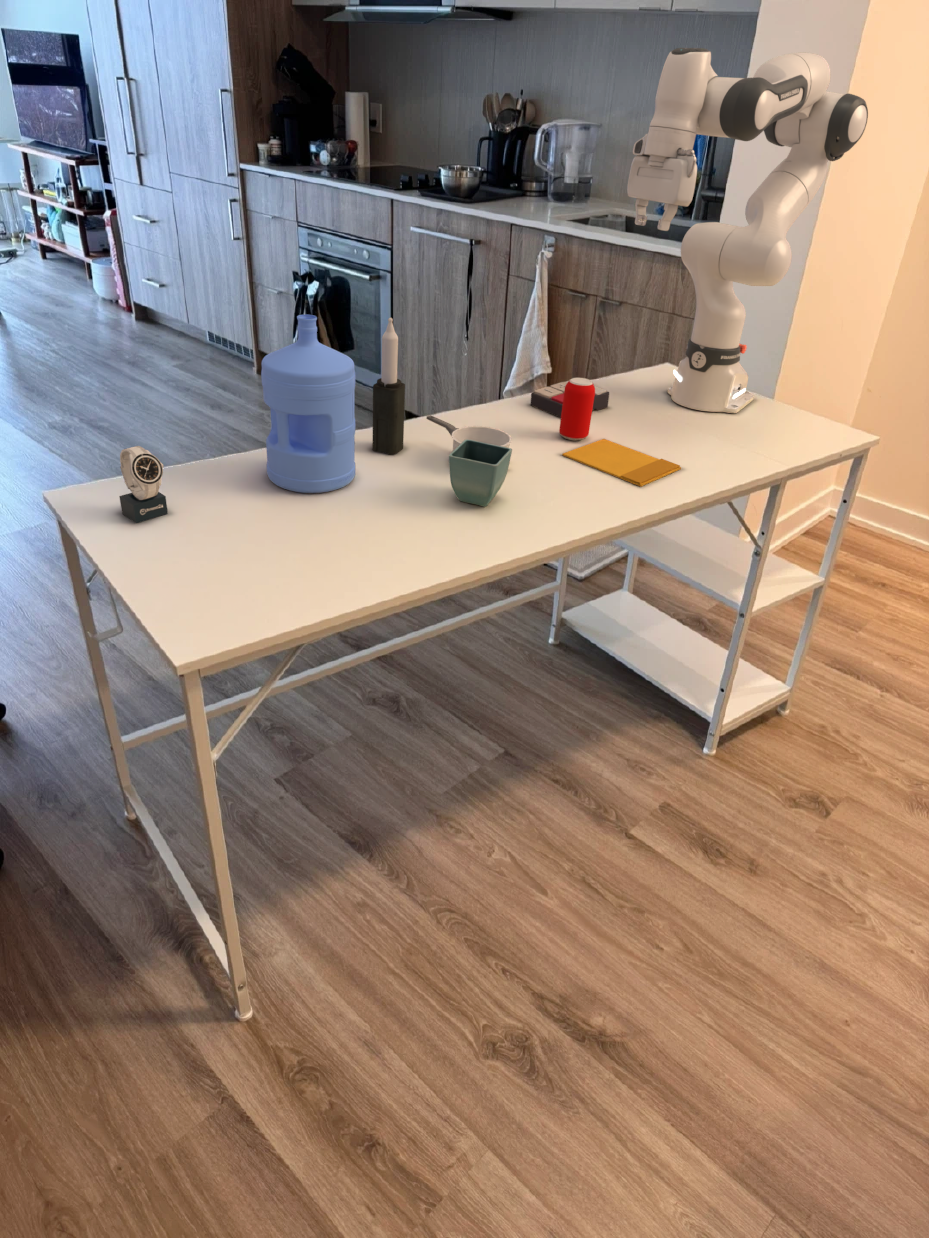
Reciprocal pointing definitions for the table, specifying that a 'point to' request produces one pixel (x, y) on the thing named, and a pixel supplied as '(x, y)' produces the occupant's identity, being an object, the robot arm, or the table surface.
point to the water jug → (310, 414)
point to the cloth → (622, 462)
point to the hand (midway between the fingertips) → (650, 227)
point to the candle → (388, 399)
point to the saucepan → (474, 434)
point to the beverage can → (577, 409)
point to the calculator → (553, 398)
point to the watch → (142, 485)
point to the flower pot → (478, 471)
